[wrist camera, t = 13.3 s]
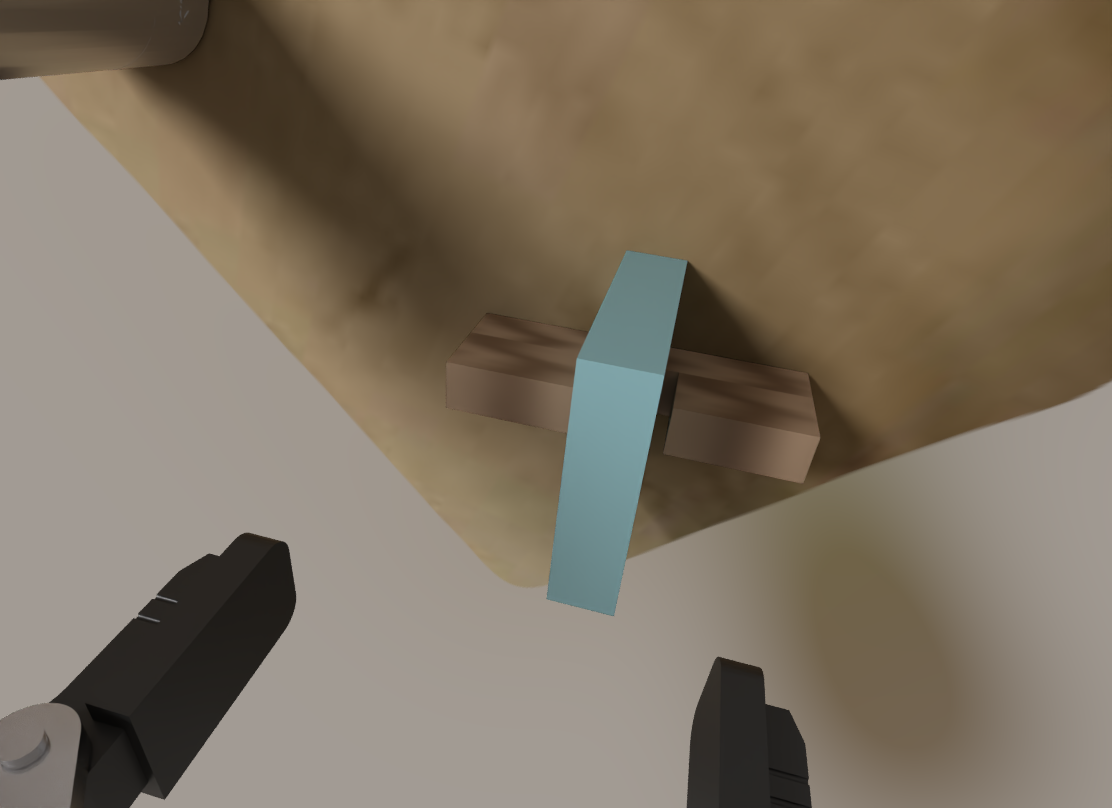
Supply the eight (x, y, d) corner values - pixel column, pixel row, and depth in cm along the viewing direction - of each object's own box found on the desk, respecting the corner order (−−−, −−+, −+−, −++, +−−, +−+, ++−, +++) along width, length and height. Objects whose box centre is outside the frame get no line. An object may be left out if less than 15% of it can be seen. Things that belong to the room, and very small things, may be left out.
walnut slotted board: (485, 354, 43) (446, 407, 37) (487, 312, 42) (446, 361, 36) (793, 415, 40) (802, 483, 34) (807, 373, 39) (820, 437, 33)
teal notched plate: (646, 457, 44) (613, 616, 33) (596, 446, 45) (546, 599, 33) (687, 260, 37) (664, 375, 25) (626, 250, 37) (576, 358, 26)
